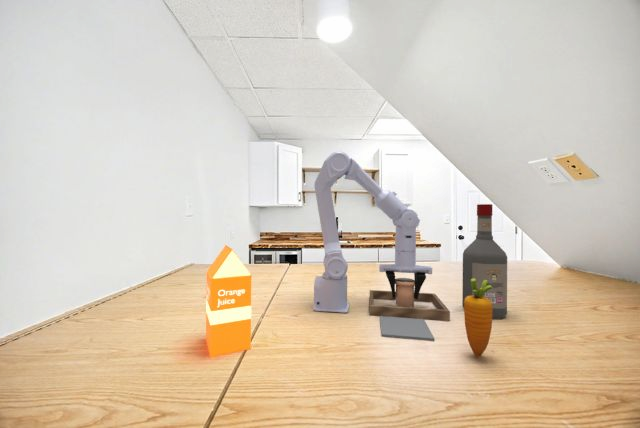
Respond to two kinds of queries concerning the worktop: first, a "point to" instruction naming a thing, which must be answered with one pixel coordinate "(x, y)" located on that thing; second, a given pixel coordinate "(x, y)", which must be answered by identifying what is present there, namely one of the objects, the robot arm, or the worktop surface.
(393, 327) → the potting mat
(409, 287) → the terracotta pot
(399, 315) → the cold frame
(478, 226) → the liquor
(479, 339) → the carrot
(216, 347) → the orange juice
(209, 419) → the worktop surface
